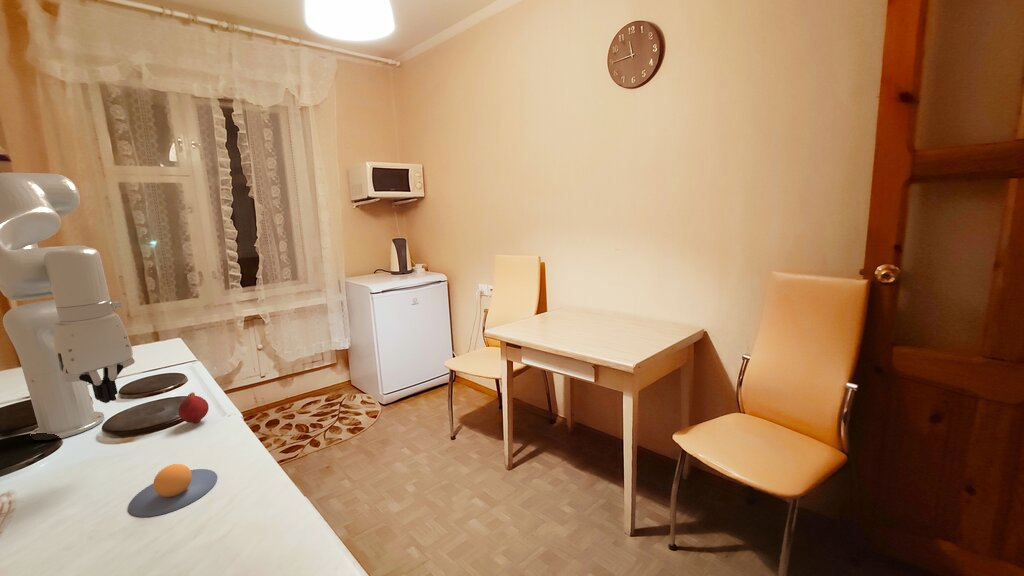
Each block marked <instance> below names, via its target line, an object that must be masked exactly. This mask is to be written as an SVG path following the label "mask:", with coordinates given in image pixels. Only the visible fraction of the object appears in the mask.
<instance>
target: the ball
mask: <svg viewBox="0 0 1024 576" xmlns="http://www.w3.org/2000/svg"><path fill="white" fill-rule="evenodd" d="M190 470H191V469H190V468H189V467H188V466H186V465H184V464H182V463H172V464H169V465H167V466H165V467H163V468H161V470H160V471H159V472H158V473H157V474H156V475H155V477H154V479H153V483H152V484H153V487H154V490H155V492H156V493H157V494H158V495H160V496H163V497H173V496H176V495H178V494H180V493H182V492H183V491H184V490H186V489H187V487H188V486H189V484H190V483H191V480H192V473H191V471H190Z"/></svg>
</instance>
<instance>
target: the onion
mask: <svg viewBox="0 0 1024 576" xmlns="http://www.w3.org/2000/svg"><path fill="white" fill-rule="evenodd" d="M195 394H196V393H195V392H194V391H192V392H190V393H189V394H188V395H187V397H185V399H183V401H181V403H180V405H179V406H178V412H177V413H178V416H179V418H180V419H182V421H184V422H186V423H190V424H195V425H197V424H200V422H201V420H203V419H204V418H205V417H206V415H207V414H208V412H209V409H210V407H209V404H208V401H207V400H206V399H205V398H204V397H201V396H198V395H195Z"/></svg>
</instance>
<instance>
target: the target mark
mask: <svg viewBox="0 0 1024 576" xmlns="http://www.w3.org/2000/svg"><path fill="white" fill-rule="evenodd" d="M190 471H191V473H192V480H191V483H190V484H189V486H188V487H187V489H186V490H184V491H183V492H182V493H180V494H178V495H176V496H173V497H163V496H160V495H158V494H157V493H156V492H155V490H154V487H153V483H151V484H150V485H148V486H146V487H145V488H143V489H142V490H141V491H139V492H138V493H137V494H136V495H135V496H134V497H132V499H131V500H130V501H129V503H128V512H129V514H130V515H131V516H134V517H139V518H151V517H156V516H160V515H166V514H168V513H171V512H174V511H177V510H180V509H182V508H185V507H186V506H190V504H192V503H195V502H196V501H197V500H199V499H201V498H202V497H204V496H205V495H206V494H207V493H209V492H210V491H211V490H212V489H213V488H214V487H215V486H216V484H217V483H218V475H217V473H216V472H215V471H214V470H212V469H205V468H198V469H197V468H196V469H190Z"/></svg>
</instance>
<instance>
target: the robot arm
mask: <svg viewBox="0 0 1024 576" xmlns="http://www.w3.org/2000/svg"><path fill="white" fill-rule="evenodd" d="M80 204H81V196H80V191H79V189H78V187H77V186H76V185H75V183H74V182H73V181H72V180H71V179H70V178H68V177H67V176H65V175H62V174H58V173H49V172H48V173H43V172H42V173H41V172H40V173H39V172H11V171H10V172H9V171H8V172H0V292H1V293H2V295H3V296H4V297H5V298H7V300H8V299H9V300H11V301H30V300H38V299H46V298H53V299H48V300H42V301H35V302H30V303H25V304H20V305H17V306H14V307H12V308H11V309H9V310H7V312H6V313H5V314H4V315H3V318H2V325H3V328H4V331H5V332H6V334H7V336H8V338H9V340H10V341H11V343H12V345H13V347H14V350H15V351H16V352H15V353H16V354H17V357H18V360H19V362H20V366H21V369H22V373H23V376H24V379H25V384H26V387H27V391H28V394H29V397H30V401H31V405H32V408H33V411H34V415H35V418H36V423H37V426H38V427H37V428H35V429H33V431H31V433H30V435H31V434H36V433H47V434H55V435H57V436H59V437H60V438H61V439H64V438H67V437H72V436H74V435H77V434H81V433H83V432H86V431H88V430H90V429H92V428H94V427H97V426H98V425H100V424H101V423H102V422H103V421H104V420H105V414H104V412H101V411H95V410H94V406H93V403H92V398H91V393H90V391H89V386H88V384H91V387H92V391H93V395H94V398H95V399H96V401H99V402H102V403H103V404H107V403H110V402H111V401H112V402H114V401H116V400H117V396H116V395H118V394H119V393H118V389H117V385H116V381H117V379H118V376H119V375H120V374H121V372H122V370H123V369H127V368H128V367H130V366H131V365H134V364H135V362H136V361H135V359H134V358H133V357H134V353H133V347H132V344H131V340H130V338H129V335H128V332H127V329H126V328H125V325H124V323H123V321H122V319H121V317H120V315H119V314H118V313H116V312H115V309H117V308H120V307H122V303H121V301H120V300H113V299H111V296H110V291H109V287H108V283H107V278H106V274H105V270H104V265H103V261H102V257H101V255H100V252H99V251H98V250H97V249H95V247H89V246H87V245H81V244H80V245H78V244H77V245H75V244H72V245H62V246H59V245H58V246H46V247H45V246H44V247H39V245H38V243H39V242H42V241H45V240H47V239H49V238H51V237H53V236H55V234H57V233H58V232H59V230H60V229H61V226H62V219H61V218H63V217H66V216H67V215H69V214H70V215H71V214H72V213H73V212H75V211H77V209H78V208H79V207H80ZM101 369H102V379H101V375H100V374H99V371H98V370H101Z"/></svg>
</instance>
